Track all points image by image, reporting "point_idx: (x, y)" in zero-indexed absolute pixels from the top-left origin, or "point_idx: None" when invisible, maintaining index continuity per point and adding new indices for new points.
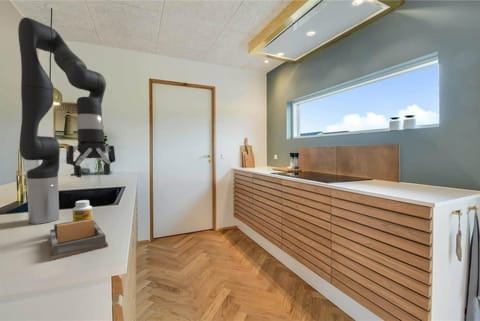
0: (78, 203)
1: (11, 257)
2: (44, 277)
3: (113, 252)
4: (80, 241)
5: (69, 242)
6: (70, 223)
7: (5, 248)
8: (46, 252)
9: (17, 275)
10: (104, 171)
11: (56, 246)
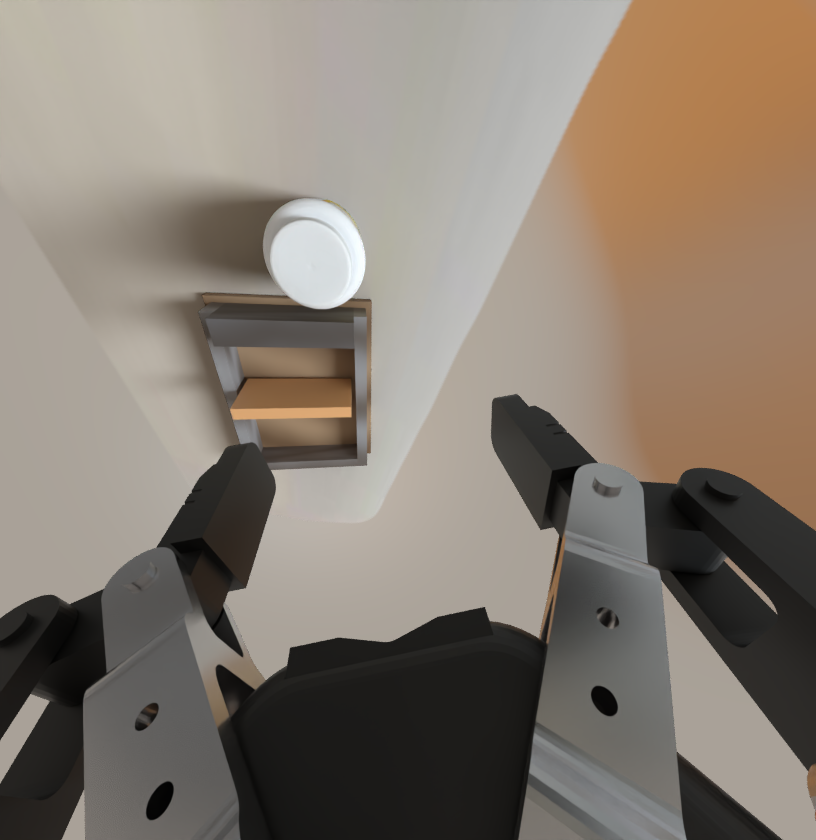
0: (289, 295)
1: (141, 383)
2: None
3: (372, 479)
4: (309, 466)
5: (284, 465)
6: (274, 415)
7: (63, 280)
8: None
9: None
10: (505, 424)
11: None
